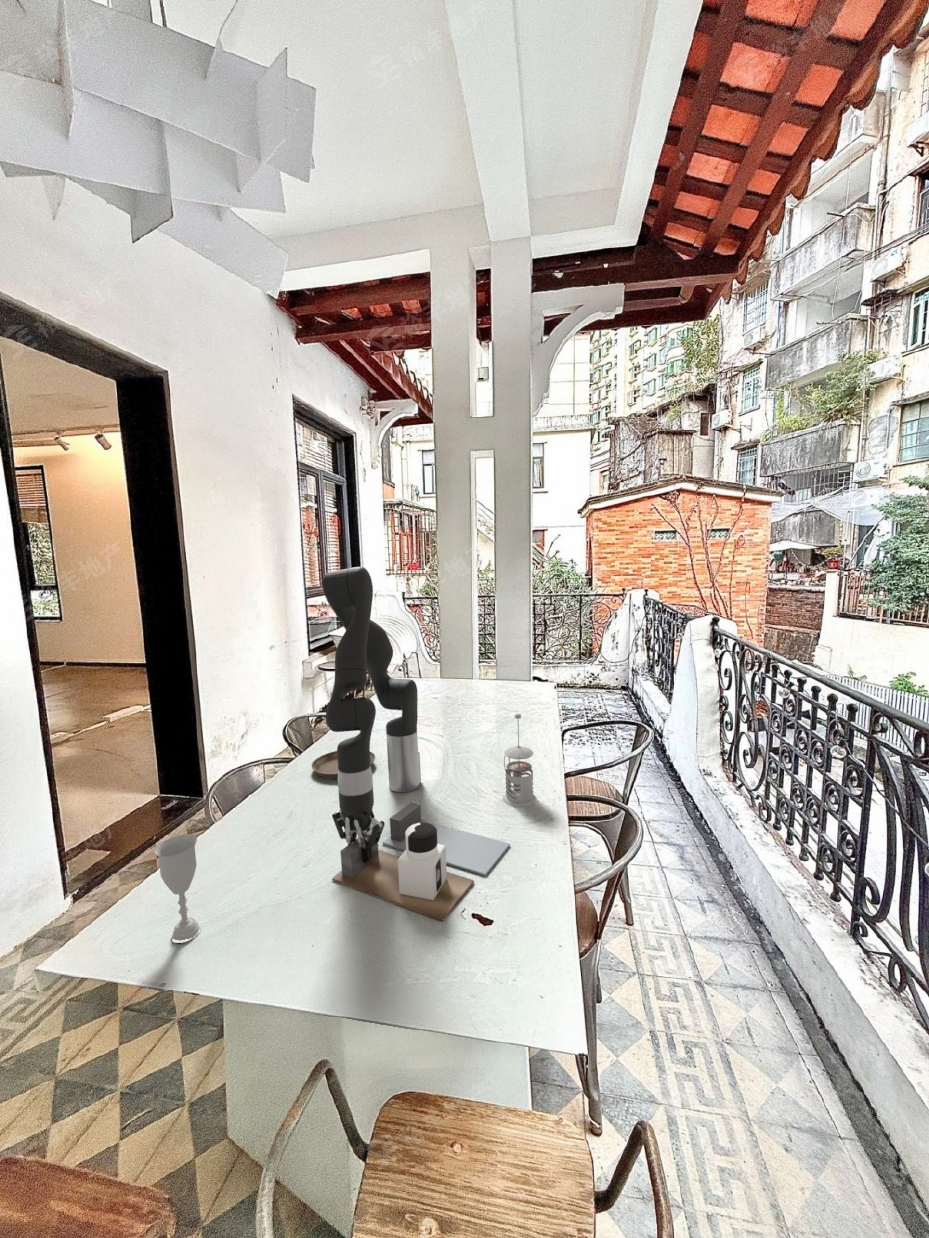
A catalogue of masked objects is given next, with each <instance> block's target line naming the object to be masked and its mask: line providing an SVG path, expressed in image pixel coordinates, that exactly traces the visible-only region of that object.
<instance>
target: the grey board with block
mask: <svg viewBox="0 0 929 1238" xmlns="http://www.w3.org/2000/svg"><path fill="white" fill-rule="evenodd" d="M421 807H422V806H421V804H420V803H415V802H412V801H410V802H409V803H407V804H406V805H405V806H404V807H402V808H401V809H400V810H399V811H397V812H396V813H395V814H393V815H392V816H391V817H390V818H389V827H390V835H389V836H388V837H387V838H386V839H385V840H384V841H382V845H384V846H387V847H391V848H394V849H397V850H400V851H403V852H404V851H405V850H406V838H405V832H406V830H407V829H408V827H410V826H411V825H413V824H416V823H429V824H432V825H433V826H435V827H436V829H437V844H441V845H445V847H446V865H449V866H451V867H455V868H457V869H461V870H464V871H468V872H471V873H474V874H478V875H481V876H484V877H486V876H487V875H488V874H489V873H490V871H491V870H492V869H493V868H494V866H495V865H496V863H498V861H499V860H500V859H501V857H502V856H503V855H504V853H506V851H507V850H508V849H509V848H510V846H511V843H509V842H505V841H502V840H498V839H494V838H490V837H486V836H482V835H479V834H476V833H472V832H468V831H465V830H460V829H457V828H453V827H449V826H445V825H442V824H440V823H439V824H438V823H434V822H432V821H431V822H430V821H427V820H423V819H422V809H421Z"/></svg>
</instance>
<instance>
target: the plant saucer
mask: <svg viewBox="0 0 929 1238" xmlns="http://www.w3.org/2000/svg"><path fill="white" fill-rule="evenodd" d="M375 761H376V755H375V754H374V753H373V752H372V751H370V764H371V766H372V765H373V764H374V762H375ZM311 769H312V771H314V773H316V775H318V776H319V777H321V778H324V779H328V780H338V759H337V750H334V751H331V752H328V753H325V754H322V755H320V756H319V757H317V758H315V759H314V760H313V761H312V763H311Z"/></svg>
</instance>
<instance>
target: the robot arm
mask: <svg viewBox="0 0 929 1238" xmlns="http://www.w3.org/2000/svg"><path fill="white" fill-rule="evenodd" d="M321 583H322V584H321V586H322V591H323V594H324V597H325V599H326V601H327V603H328V605H329V606H330V608H331V609H332V611H333V612H334V615H335V616H336V617H337V619H338V620H339V621H340V623H341V625H342V627H343V628H344V630H345V631H344V634H343V635H342V637H341V638H340V640H339V643H338V644H337V647H336V651H335V656H334V682H333V687H332V692H331V695H330V699H329V701H328V705H327V708H326V711H325V712H326V713H325V723H326V725H327V728H328V729H329V730H330V731H332V732H334V733H343V732H355V731H359V733H358V734H357V735H356V736H355V735H354V736H353V737H350V738H347V739H344V740H342V741H340V742H339V743H338V745H337V747H336V751H337V759H338V779H337V785H338V786H337V787H338V788H337V789H338V802H339V803H338V804H339V810H337V811H335V812H334V813H332V815H331V817H332V820H333V822H334V825H335V828H336V830H337V833H338V836H339V838H340V839H341V840H345V842H346V843H347V846H348V845H349V844H350V843H352V842H353V841H354V840H356V839H357V838H359V839H360V841H361V845H362V862H363V863H367V862H368V861H369V860H370V859H371V858H372V847H373V846H374V845H375V844H377V843H378V844H379V842H380V840H381V836H382V834H383V832H384V831H383V830H384V828H385V822H384V820H380V821H379V820H377V819H376V817H375V813H374V811H373V807H374V805H375V799H374V798H375V797H374V782H373V778H374V777H373V771H372V765H371V764H370V752H371V747H370V745H371V736H372V731H373V728H374V723H375V719H376V714H377V710H376V705H375V703H374V701H373V700H372V699H371V698H369V697H365V696H364V697H352V698H345V697H346V696H347V695H348V694H349V693H352V692H354V691H355V692H356V691H358V690H361V689H363V688H365V686H366V685H367V675H368V676H369V678H370V680H371V683H372V686H373V689H374V692H375V695H376V697H377V701H378V702H379V704H380V706H381V707H382V708H384V709H386V710H388V711H389V710H392V711H401V716H399V717H396V718H393V719H390V720H389V721H387V723H386V725H385V730H386V731H385V735H386V748H387V749H386V751H387V752H386V753H387V768H388V769H387V770H388V771H387V772H388V785H389V789H390V791H392V792H394V793H408V792H414V791H415V790H416V789H418V788H419V787H420V785H421V784H420V783H421V782H422V773H421V770H422V769H421V754H420V752H419V742H418V741H419V740H418V699H419V698H418V686H417V684H416V683H417V682H415V680H413V679H410V678H409V679H407V678H392V677H391V676H389V673H388V670H389V669H388V668H389V666H390V664H391V662H392V661H393V657H394V649H393V646H392V645H393V644H392V643H391V641H390V638H389V636H388V634H387V632H386V631H385V629H384V628H383V627H382V626H381V625H379V624H378V623H376V622H375V621H374V620H372V619H371V616H372V615H371V614H372V607H373V597H374V586H373V580H372V577H371V574H370V572H369V571H368V570H367V568H366V567H364V566H355V567H350V568H344V569H338V570H337V569H336V570H333V571H329V572H327V573H325V574H324V575H323V577H322V580H321ZM343 828H344V829H343ZM366 837H367V840H366Z"/></svg>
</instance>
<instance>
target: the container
mask: <svg viewBox="0 0 929 1238" xmlns="http://www.w3.org/2000/svg"><path fill="white" fill-rule="evenodd" d="M405 838H406V850H405V851H403V853H402V854H401V855H400V856H399V857H400V858H399V859H398V874H399V892H400V894H404V895H408V896H413V897H418V898H423V899H428V900H434V899H435V897H436V896H437V894H438V892H439V890H440V889H441V887H442V885H443V884H444V882H445V880H446V878H447V872H448V871H447V864H446V847H445V845H441V844H437V829H436V827H435V826H433V825H432V824H429V823H416V824H413V825H411V826H410V827H408V829H407V830H406V832H405Z"/></svg>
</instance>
